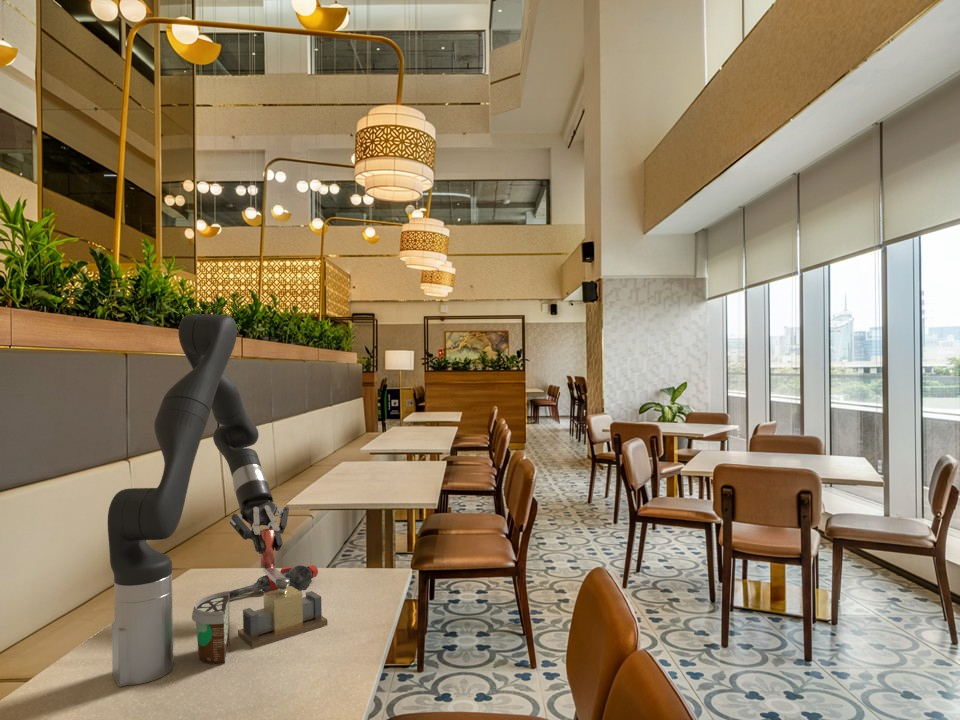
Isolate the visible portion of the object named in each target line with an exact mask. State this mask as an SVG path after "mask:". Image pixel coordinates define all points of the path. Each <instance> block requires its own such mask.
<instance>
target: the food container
mask: <svg viewBox="0 0 960 720" xmlns="http://www.w3.org/2000/svg"><path fill="white" fill-rule="evenodd" d="M229 591H230V590H226V591H221V592H215V593H212V594H210V595H207V596H204V597H202V598H201V599H199V600H197V602H196V603H195V604H194V606H193V609H192V614H191V619H192V621H194V622H195V628H196V639H197V648H198V659H199V661H200V662H202V663H203V664H206V665H224V664H226V661H227V660H226V659H227V656H228V652H229V646H230V599H231V598H230V597H229Z"/></svg>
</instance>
